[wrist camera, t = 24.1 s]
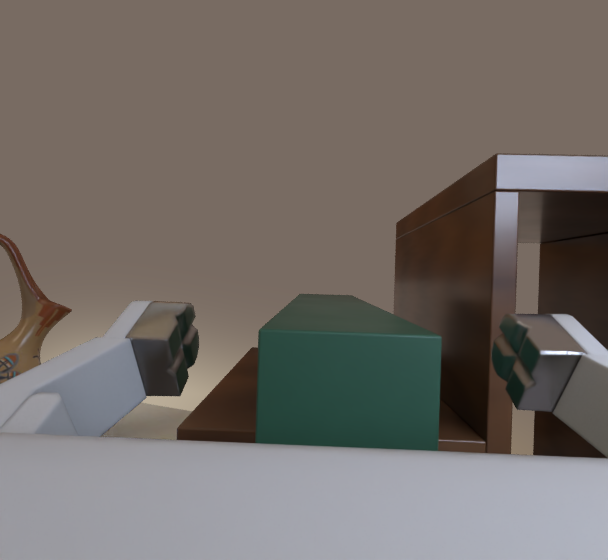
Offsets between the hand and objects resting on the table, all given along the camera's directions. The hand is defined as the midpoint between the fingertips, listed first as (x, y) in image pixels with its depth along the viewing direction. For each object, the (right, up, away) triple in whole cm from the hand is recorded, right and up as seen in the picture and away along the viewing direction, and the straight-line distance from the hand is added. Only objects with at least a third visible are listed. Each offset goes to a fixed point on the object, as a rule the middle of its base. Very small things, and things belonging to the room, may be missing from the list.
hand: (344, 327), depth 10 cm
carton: (0, -5, +10) cm, 11 cm away
